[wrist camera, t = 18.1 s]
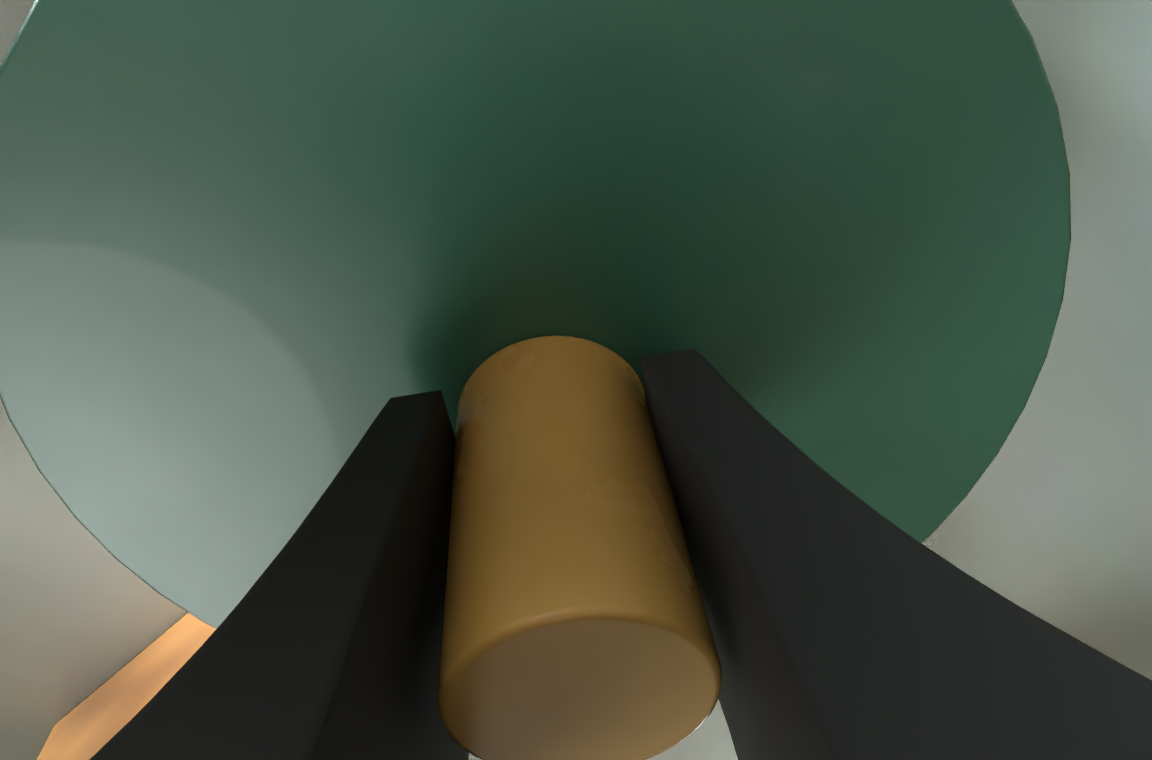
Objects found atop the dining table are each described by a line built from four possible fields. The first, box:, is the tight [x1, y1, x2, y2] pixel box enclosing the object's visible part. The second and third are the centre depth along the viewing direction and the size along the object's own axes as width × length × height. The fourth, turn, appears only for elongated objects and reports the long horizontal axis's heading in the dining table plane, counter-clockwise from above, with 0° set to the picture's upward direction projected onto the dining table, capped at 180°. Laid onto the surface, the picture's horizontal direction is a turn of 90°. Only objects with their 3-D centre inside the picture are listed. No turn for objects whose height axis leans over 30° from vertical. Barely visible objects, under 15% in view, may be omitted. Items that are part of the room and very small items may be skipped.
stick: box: [37, 613, 216, 760], centre depth 18 cm, size 9×2×3 cm, turn 132°
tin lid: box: [0, 0, 1071, 760], centre depth 8 cm, size 13×13×5 cm
